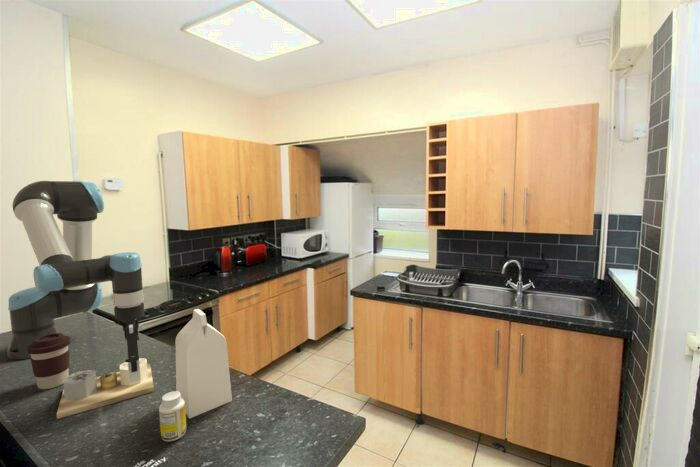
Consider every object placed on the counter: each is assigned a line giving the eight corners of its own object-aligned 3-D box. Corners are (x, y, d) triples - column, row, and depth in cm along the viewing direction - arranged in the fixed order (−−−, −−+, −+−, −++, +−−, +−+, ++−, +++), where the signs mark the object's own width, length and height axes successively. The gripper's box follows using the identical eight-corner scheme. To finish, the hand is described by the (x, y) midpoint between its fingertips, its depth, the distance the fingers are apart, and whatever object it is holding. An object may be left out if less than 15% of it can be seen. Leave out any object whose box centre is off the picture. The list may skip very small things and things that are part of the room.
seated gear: (67, 391, 97) (65, 374, 96) (97, 383, 101) (95, 367, 100) (63, 403, 91) (62, 386, 91) (95, 394, 95) (94, 378, 95)
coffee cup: (49, 394, 98) (43, 345, 96) (22, 390, 100) (16, 342, 98) (82, 376, 107) (77, 332, 106) (57, 373, 109) (52, 329, 108)
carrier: (65, 389, 100) (63, 368, 100) (150, 368, 113) (149, 349, 112) (57, 419, 87) (54, 395, 86) (154, 391, 99) (152, 370, 99)
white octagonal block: (147, 370, 108) (146, 356, 108) (148, 380, 102) (147, 365, 102) (121, 377, 104) (119, 362, 104) (121, 388, 98) (119, 372, 98)
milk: (232, 400, 95) (228, 312, 92) (189, 418, 87) (183, 323, 84) (216, 383, 104) (212, 302, 101) (176, 397, 96) (170, 311, 93)
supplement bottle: (180, 423, 86) (178, 386, 84) (190, 433, 82) (188, 394, 81) (157, 435, 81) (154, 396, 80) (166, 446, 78) (163, 405, 77)
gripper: (114, 295, 109) (119, 357, 111) (113, 319, 88) (119, 394, 91) (141, 292, 113) (146, 351, 115) (146, 313, 92) (151, 385, 95)
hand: (134, 370), depth 103 cm, fingers open, 13 cm apart
